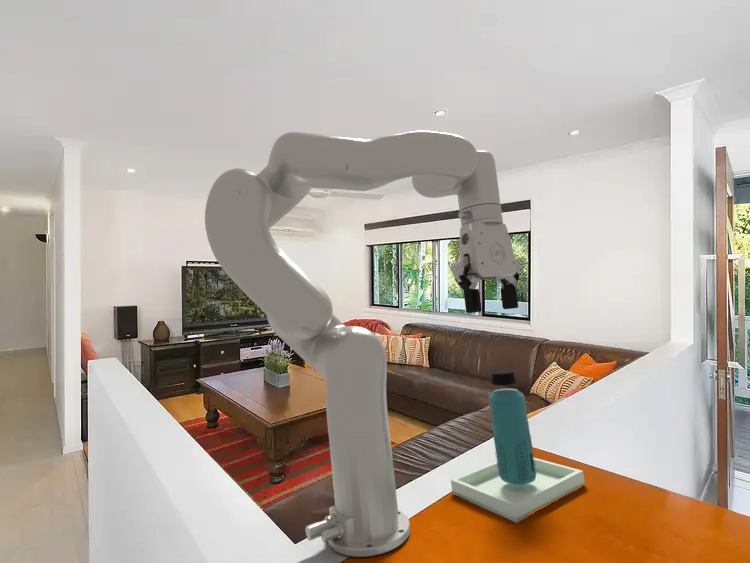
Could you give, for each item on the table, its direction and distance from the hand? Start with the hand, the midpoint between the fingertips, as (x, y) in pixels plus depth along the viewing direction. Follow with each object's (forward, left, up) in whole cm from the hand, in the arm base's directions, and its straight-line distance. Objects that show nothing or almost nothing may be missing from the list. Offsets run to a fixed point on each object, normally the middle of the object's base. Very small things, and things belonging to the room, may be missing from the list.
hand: (492, 310), depth 74 cm
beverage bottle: (0, 0, -31) cm, 31 cm away
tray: (0, 0, -32) cm, 32 cm away
